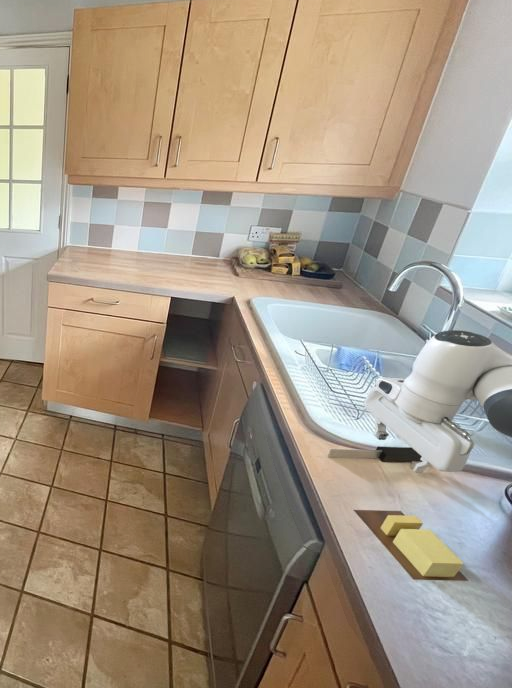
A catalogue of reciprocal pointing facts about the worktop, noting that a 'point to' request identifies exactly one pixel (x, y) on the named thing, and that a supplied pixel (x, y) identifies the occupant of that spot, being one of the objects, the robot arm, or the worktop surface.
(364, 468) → the worktop surface
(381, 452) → the knife
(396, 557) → the board
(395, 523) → the butter slice
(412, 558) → the butter block
